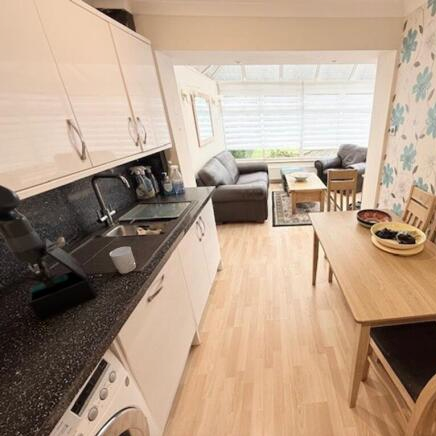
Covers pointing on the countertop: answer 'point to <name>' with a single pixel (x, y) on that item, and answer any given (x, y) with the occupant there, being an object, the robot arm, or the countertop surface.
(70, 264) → the bin lid
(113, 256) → the white cup
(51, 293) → the bin
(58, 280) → the teal rod
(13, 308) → the countertop surface
